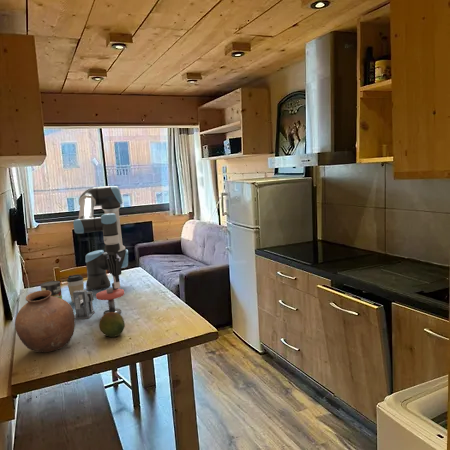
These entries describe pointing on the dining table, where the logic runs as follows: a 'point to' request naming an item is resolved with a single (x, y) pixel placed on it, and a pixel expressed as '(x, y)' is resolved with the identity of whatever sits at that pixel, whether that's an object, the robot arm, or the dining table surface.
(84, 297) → the grey block assembly
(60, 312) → the pottery
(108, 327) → the fruit
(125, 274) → the dining table surface
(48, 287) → the coffee can
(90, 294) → the hook rod
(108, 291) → the pot lid
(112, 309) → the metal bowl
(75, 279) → the coffee cup
